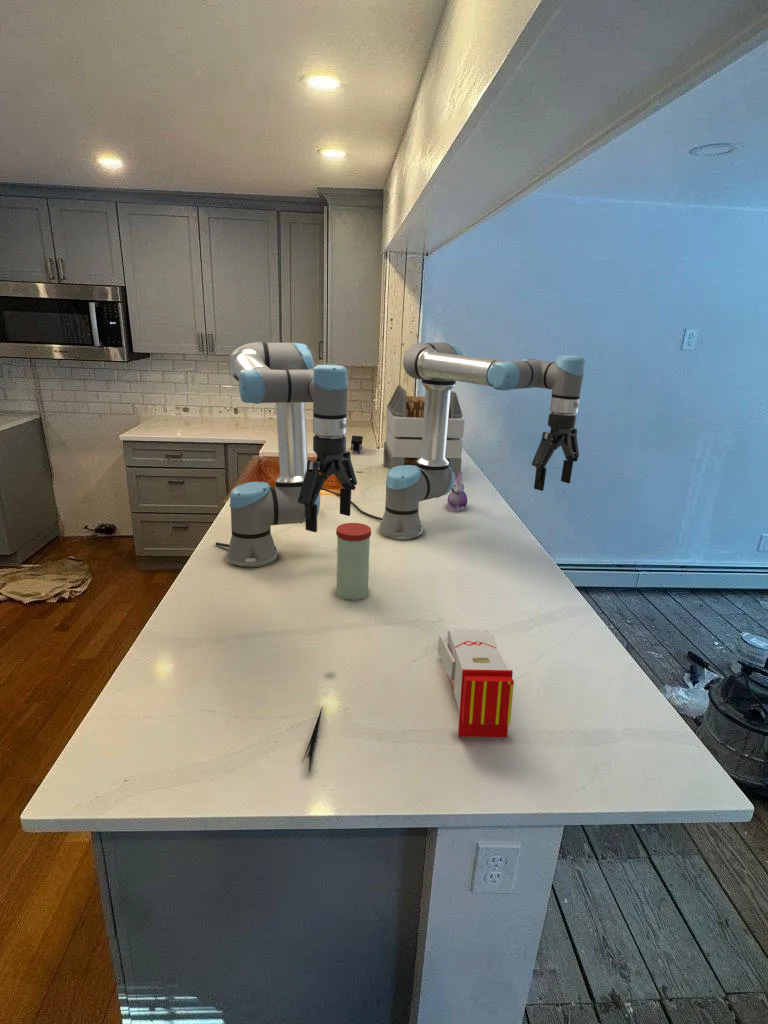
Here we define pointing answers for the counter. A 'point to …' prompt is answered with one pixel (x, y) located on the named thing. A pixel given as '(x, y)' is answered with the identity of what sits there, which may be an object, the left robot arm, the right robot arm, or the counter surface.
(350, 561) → the jar
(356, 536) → the lid
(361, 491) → the counter surface
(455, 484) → the figurine
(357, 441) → the figurine character
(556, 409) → the right robot arm
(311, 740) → the feather
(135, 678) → the counter surface
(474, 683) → the toy
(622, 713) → the counter surface
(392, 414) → the grey slatted crate
